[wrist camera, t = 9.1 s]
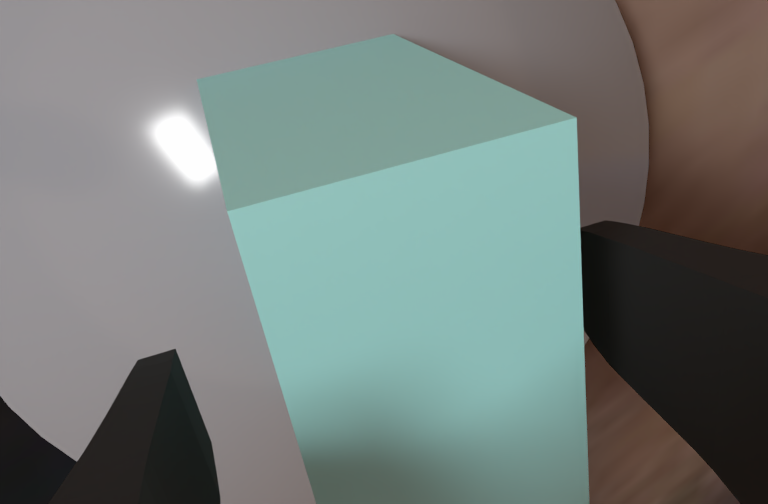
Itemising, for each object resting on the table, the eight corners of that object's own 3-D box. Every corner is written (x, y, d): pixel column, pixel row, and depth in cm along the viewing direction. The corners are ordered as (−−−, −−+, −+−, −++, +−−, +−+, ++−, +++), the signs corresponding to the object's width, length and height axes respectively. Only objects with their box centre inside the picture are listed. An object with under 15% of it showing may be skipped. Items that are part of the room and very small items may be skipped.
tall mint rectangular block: (196, 79, 13) (226, 211, 7) (393, 33, 14) (577, 117, 8) (291, 399, 17) (365, 666, 11) (442, 350, 17) (591, 574, 11)
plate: (730, 72, 18) (765, 81, 17) (428, 523, 22) (441, 553, 21) (125, -391, 11) (122, -425, 10) (-160, 397, 15) (-184, 433, 14)
